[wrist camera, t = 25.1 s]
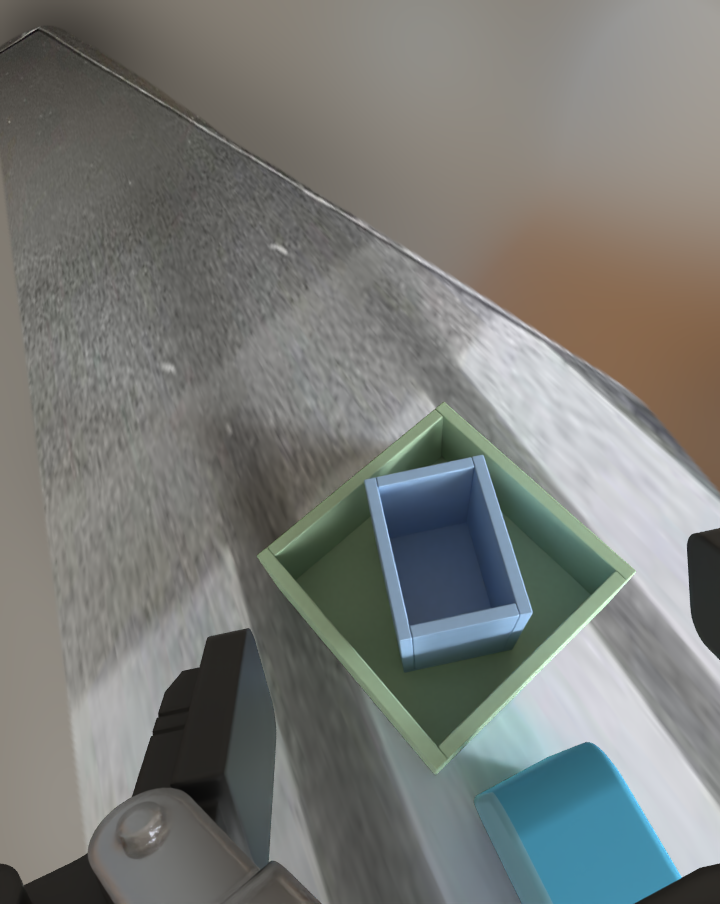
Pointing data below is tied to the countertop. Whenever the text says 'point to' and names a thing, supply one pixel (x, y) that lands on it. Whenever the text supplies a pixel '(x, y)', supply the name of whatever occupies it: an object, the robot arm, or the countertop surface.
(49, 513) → the countertop surface
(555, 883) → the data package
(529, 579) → the green tote
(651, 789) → the countertop surface
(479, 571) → the small bin
